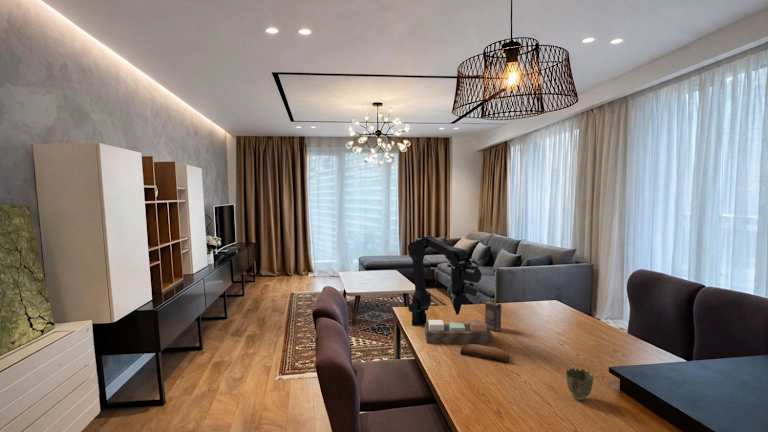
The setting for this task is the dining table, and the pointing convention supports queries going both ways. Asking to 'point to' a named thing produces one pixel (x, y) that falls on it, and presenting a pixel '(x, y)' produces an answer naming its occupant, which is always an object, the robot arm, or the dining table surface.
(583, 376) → the cup
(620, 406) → the dining table surface
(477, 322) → the key terracotta
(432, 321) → the key cream
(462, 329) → the key sage
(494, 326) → the box
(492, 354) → the sunglasses case
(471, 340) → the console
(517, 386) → the dining table surface
